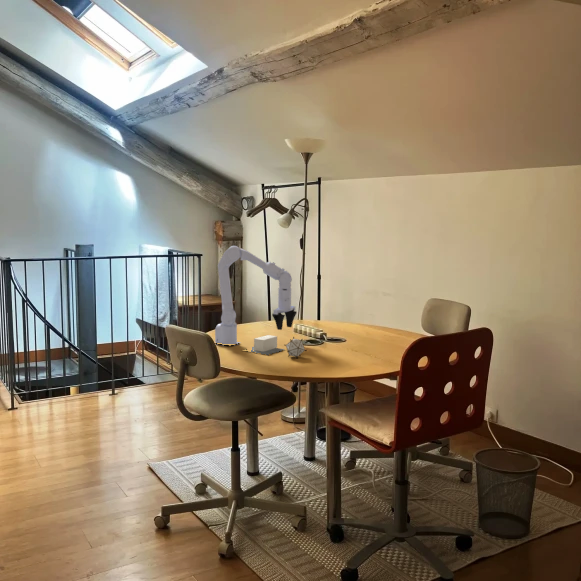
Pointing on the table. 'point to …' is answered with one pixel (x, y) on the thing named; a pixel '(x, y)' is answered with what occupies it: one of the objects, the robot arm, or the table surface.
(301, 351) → the game die
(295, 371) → the table surface
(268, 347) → the tall block
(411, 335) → the table surface
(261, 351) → the slate mat
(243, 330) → the table surface
